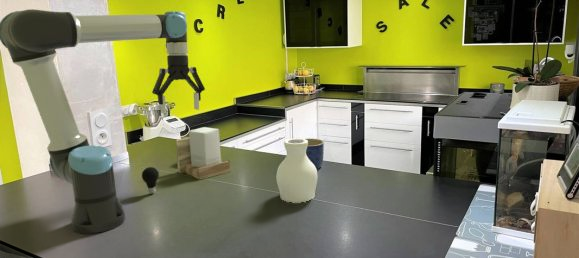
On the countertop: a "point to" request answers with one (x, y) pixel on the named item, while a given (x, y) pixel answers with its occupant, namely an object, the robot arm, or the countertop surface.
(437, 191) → the countertop surface
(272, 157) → the countertop surface
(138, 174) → the countertop surface
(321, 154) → the planter
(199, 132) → the supplement box
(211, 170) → the cleat board
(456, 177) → the countertop surface
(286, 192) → the vase
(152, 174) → the light bulb
